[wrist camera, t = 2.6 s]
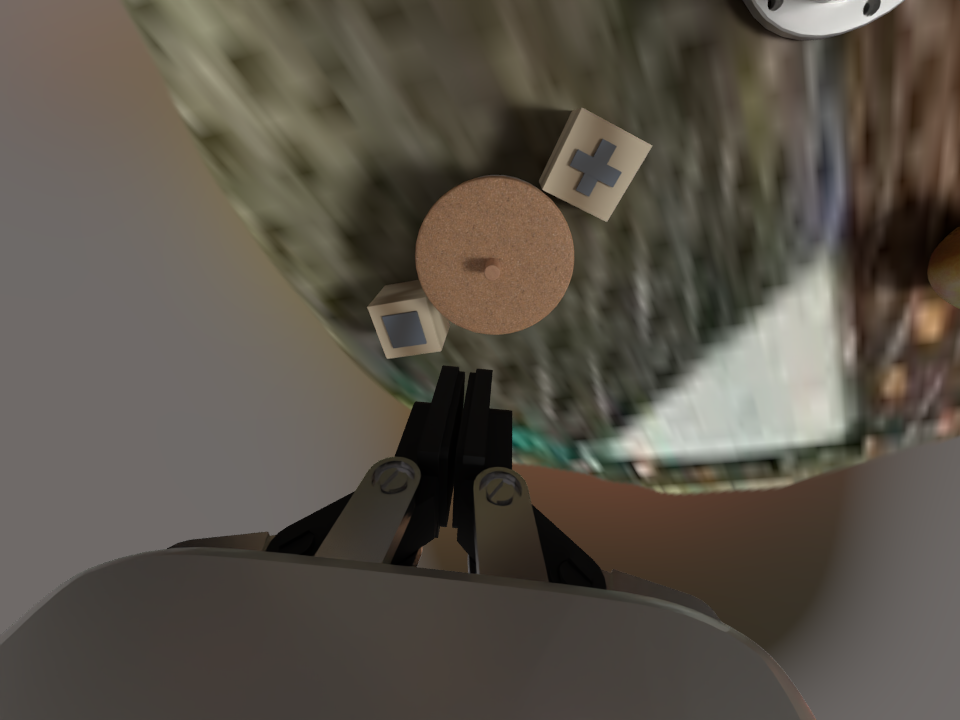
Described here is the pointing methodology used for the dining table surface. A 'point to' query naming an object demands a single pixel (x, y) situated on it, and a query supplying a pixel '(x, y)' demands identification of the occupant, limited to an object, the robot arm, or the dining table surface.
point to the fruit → (946, 268)
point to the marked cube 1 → (407, 320)
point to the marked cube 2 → (593, 163)
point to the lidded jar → (494, 255)
